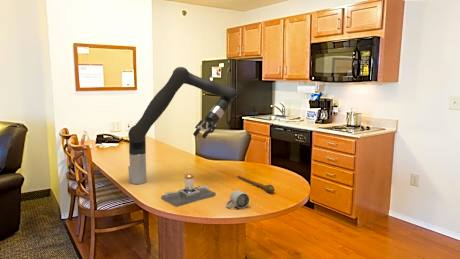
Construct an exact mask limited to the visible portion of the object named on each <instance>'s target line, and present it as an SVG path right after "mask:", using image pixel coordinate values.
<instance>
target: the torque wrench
mask: <svg viewBox="0 0 460 259" xmlns="http://www.w3.org/2000/svg"><path fill="white" fill-rule="evenodd" d="M236 178H238V179H239V180H242V181H245V182H247V183H249V184H253V185H255V186H257V187H260V188H262V189H263V190H265V192H266V193H267V194H272V193H274V192H275V190H276V189H275V187H274V185H272V184H262V183H260V182H256V181H254V180H251V179H249V178H246V177H244V176H241V175H237V177H236Z"/></svg>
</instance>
